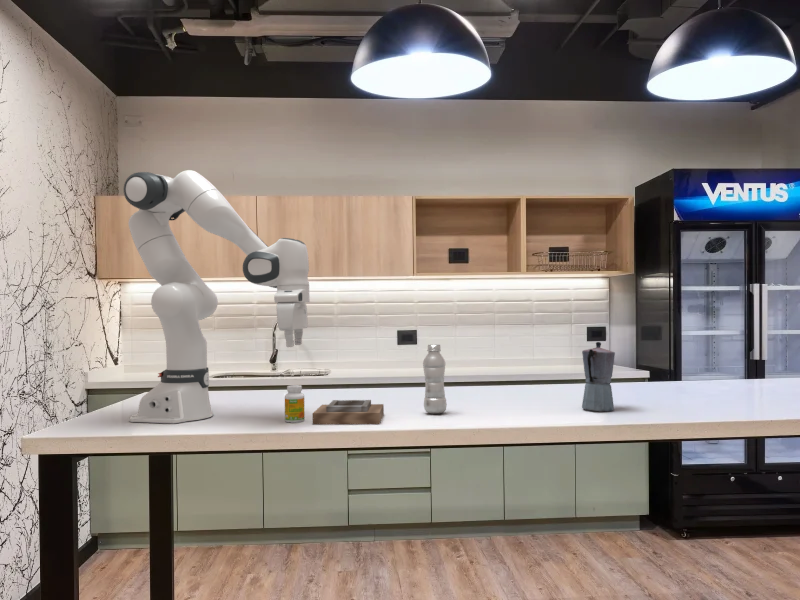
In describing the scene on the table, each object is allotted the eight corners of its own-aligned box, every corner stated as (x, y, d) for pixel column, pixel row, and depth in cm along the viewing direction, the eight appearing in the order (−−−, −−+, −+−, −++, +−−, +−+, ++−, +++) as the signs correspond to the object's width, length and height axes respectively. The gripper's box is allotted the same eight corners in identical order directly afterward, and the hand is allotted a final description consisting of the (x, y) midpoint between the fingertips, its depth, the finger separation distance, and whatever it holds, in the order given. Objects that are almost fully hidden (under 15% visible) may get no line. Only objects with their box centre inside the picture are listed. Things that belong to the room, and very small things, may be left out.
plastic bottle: (445, 415, 161) (444, 345, 161) (422, 415, 162) (420, 345, 163) (448, 411, 167) (447, 344, 168) (425, 411, 169) (424, 344, 169)
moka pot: (620, 407, 170) (619, 341, 171) (609, 416, 157) (607, 344, 158) (588, 405, 176) (587, 340, 176) (574, 413, 163) (573, 343, 163)
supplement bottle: (287, 423, 153) (286, 387, 153) (283, 420, 158) (282, 385, 158) (306, 421, 156) (306, 386, 156) (302, 418, 160) (301, 384, 161)
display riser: (312, 424, 152) (312, 407, 152) (322, 414, 166) (322, 399, 166) (379, 424, 151) (379, 407, 151) (383, 414, 165) (383, 399, 165)
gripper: (291, 297, 168) (292, 343, 168) (272, 295, 148) (273, 348, 147) (312, 296, 168) (313, 343, 167) (296, 295, 147) (297, 348, 147)
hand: (294, 346), depth 157 cm, fingers open, 8 cm apart
